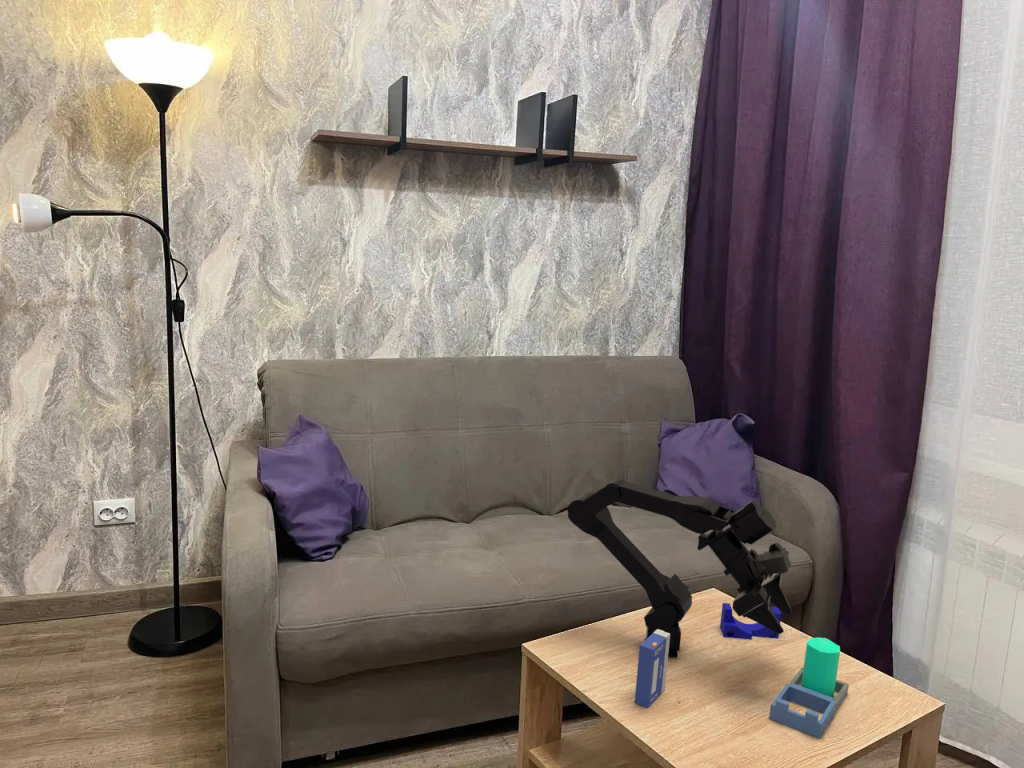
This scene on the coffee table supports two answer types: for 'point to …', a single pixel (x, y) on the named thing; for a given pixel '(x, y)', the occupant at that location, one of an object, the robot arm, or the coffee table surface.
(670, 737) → the coffee table surface
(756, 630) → the cable clip
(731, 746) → the coffee table surface
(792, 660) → the coffee table surface
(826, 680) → the candle
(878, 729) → the coffee table surface
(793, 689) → the frame
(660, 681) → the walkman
